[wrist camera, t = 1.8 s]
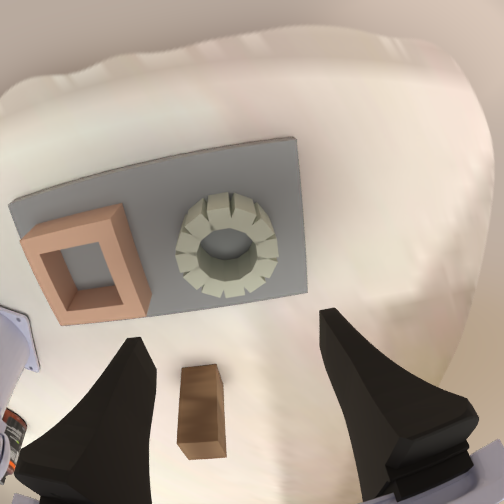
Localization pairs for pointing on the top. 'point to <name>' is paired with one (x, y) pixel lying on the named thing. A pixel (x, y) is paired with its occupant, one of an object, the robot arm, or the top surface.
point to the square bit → (201, 413)
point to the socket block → (169, 234)
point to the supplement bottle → (13, 438)
